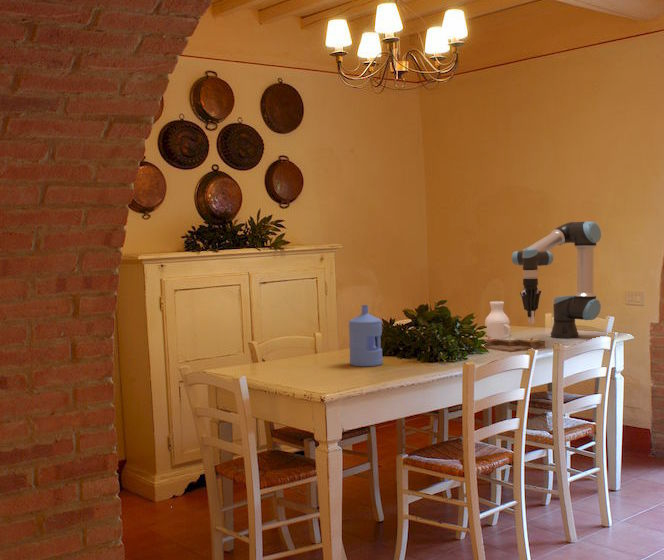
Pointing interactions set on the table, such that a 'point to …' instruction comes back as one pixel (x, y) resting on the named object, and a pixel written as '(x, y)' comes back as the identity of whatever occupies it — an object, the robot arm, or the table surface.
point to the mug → (499, 330)
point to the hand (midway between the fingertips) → (531, 323)
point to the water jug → (365, 340)
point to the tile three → (531, 340)
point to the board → (514, 345)
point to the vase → (496, 316)
